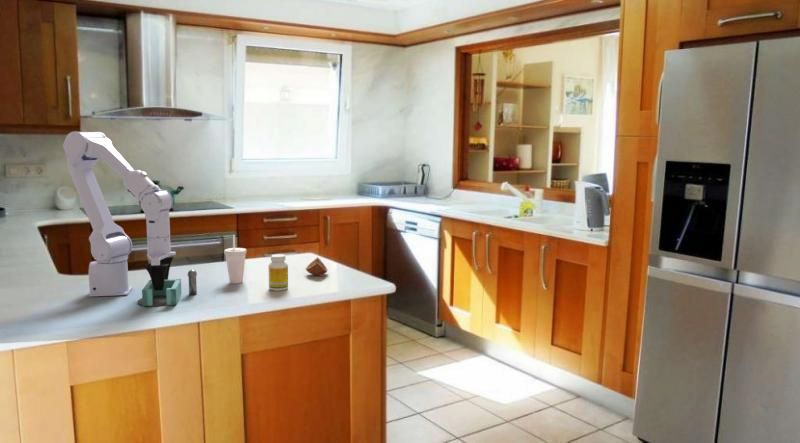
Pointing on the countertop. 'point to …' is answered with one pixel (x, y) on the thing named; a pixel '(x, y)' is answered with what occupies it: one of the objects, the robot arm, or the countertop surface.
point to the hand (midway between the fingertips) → (160, 286)
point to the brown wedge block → (316, 267)
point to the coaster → (156, 300)
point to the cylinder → (192, 282)
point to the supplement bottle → (278, 273)
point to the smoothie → (235, 263)
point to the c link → (162, 292)
